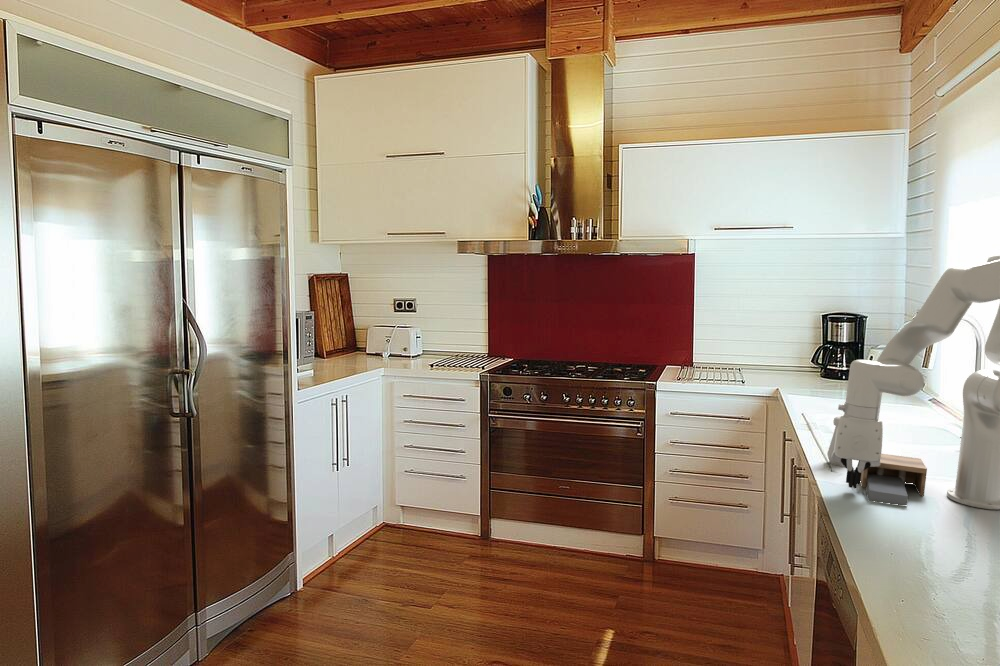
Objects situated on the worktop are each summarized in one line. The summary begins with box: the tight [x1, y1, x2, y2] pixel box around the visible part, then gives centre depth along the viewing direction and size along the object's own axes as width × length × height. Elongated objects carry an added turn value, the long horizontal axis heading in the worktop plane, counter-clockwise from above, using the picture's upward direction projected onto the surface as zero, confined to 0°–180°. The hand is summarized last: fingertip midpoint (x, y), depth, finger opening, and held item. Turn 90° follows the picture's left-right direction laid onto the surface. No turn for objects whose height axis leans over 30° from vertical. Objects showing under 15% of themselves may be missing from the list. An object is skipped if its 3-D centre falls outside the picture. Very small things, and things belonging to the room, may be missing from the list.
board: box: [865, 473, 909, 506], centre depth 186 cm, size 16×8×3 cm, turn 158°
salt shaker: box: [826, 416, 845, 467], centre depth 210 cm, size 6×6×13 cm
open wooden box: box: [860, 453, 928, 497], centre depth 192 cm, size 10×14×7 cm
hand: (852, 486), depth 185 cm, fingers closed
